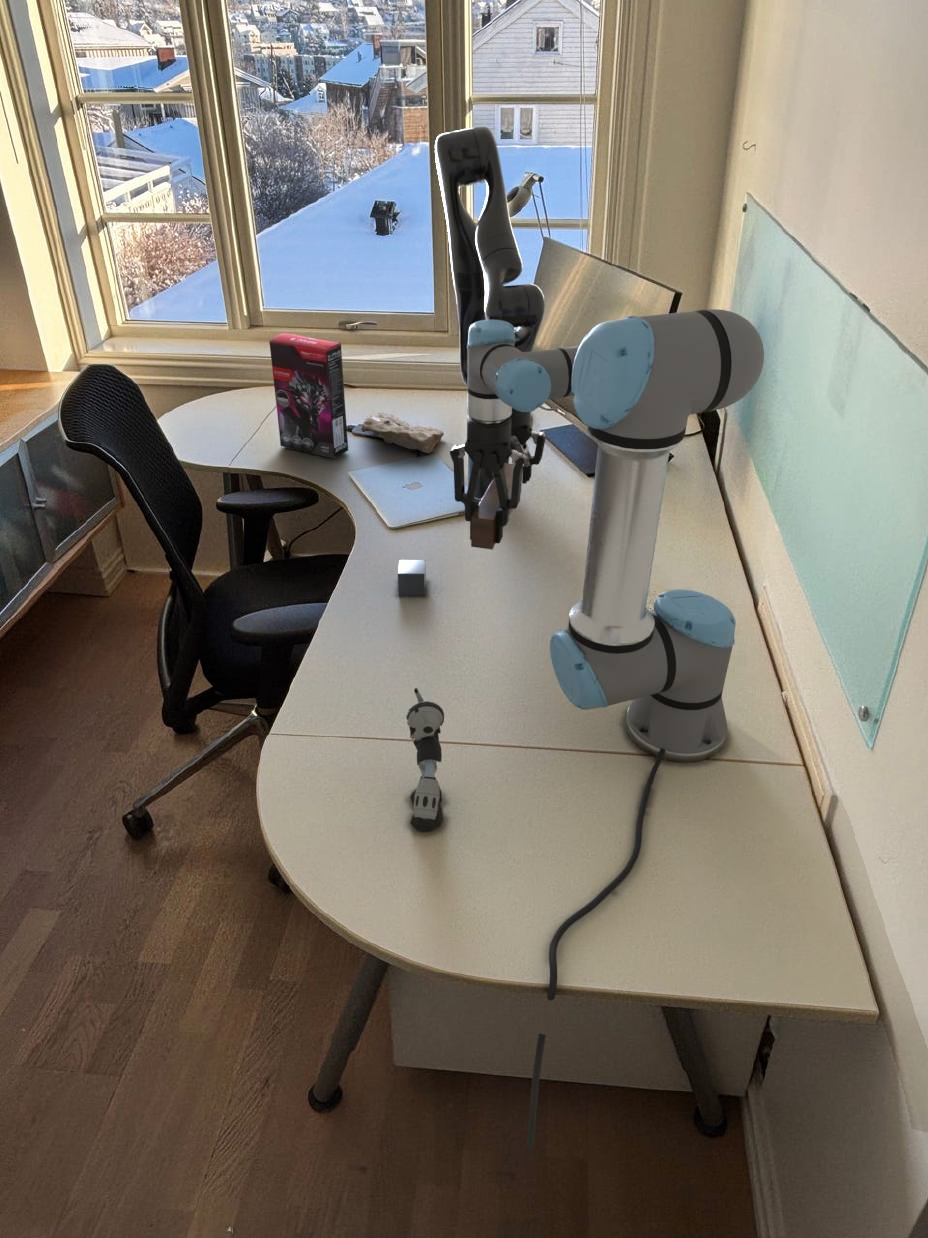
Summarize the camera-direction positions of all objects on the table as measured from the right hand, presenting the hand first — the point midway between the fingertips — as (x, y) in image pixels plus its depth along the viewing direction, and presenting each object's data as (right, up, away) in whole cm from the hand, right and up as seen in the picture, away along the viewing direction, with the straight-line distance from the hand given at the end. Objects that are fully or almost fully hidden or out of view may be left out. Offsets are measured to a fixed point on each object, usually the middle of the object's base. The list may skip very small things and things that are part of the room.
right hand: (486, 537), depth 168 cm
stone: (-21, +30, +67) cm, 76 cm away
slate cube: (-14, -9, +9) cm, 19 cm away
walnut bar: (+2, +4, +7) cm, 9 cm away
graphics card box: (-42, +28, +63) cm, 81 cm away
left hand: (+4, +12, +12) cm, 17 cm away
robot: (-9, -42, -40) cm, 58 cm away
